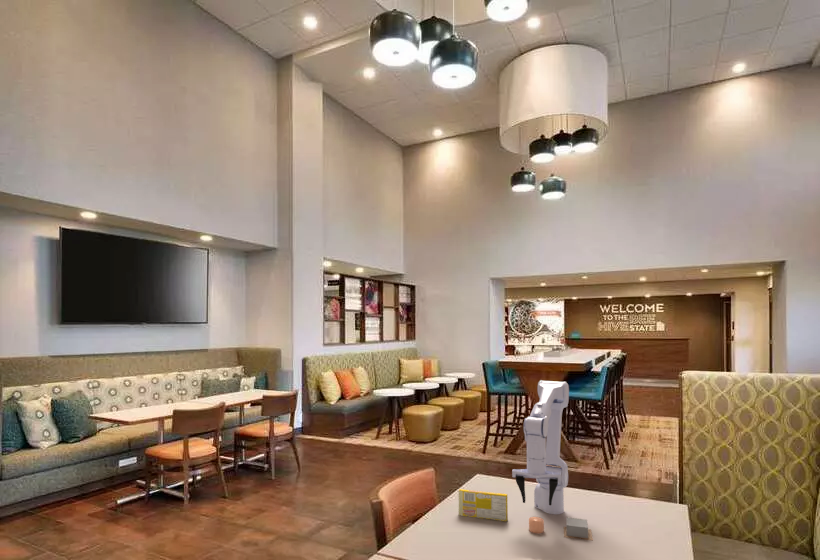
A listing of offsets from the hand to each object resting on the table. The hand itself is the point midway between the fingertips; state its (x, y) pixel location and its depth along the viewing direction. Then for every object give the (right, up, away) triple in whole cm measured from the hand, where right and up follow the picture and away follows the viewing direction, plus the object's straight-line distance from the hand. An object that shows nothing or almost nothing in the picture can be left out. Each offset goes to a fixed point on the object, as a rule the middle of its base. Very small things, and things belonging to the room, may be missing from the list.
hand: (537, 502), depth 151 cm
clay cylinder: (0, -10, -1) cm, 10 cm away
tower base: (+12, -10, -3) cm, 16 cm away
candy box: (-15, -11, +13) cm, 22 cm away
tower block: (+11, -8, -2) cm, 14 cm away
